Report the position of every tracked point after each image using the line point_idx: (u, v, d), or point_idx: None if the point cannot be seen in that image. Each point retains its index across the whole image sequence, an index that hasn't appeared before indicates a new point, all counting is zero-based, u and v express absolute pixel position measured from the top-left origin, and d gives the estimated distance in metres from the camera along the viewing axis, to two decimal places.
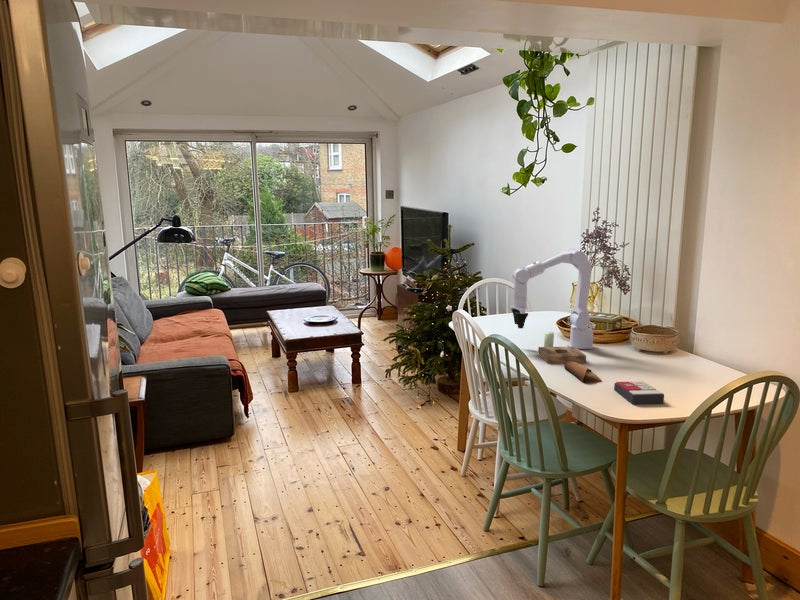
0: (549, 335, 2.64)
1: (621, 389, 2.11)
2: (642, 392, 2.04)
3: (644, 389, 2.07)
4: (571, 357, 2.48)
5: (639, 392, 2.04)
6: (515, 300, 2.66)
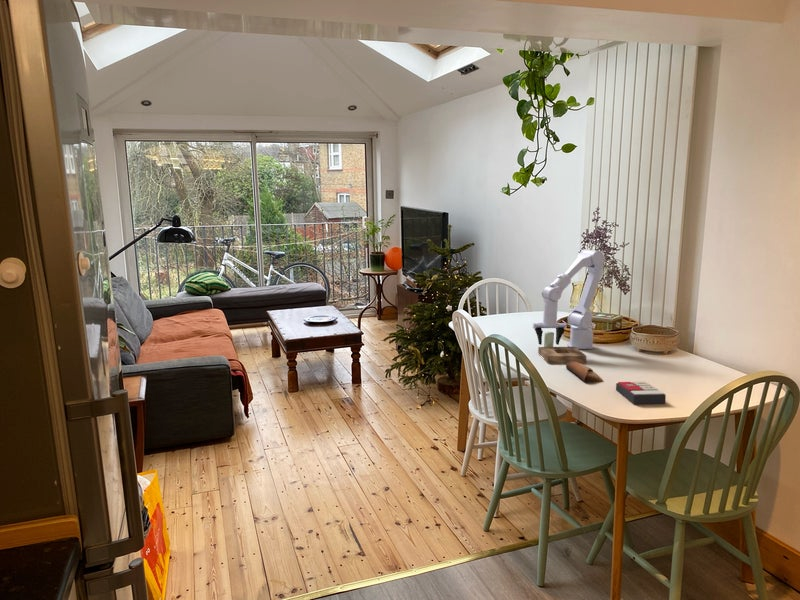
0: (549, 335, 2.64)
1: (623, 389, 2.11)
2: (643, 392, 2.04)
3: (646, 389, 2.07)
4: (571, 357, 2.48)
5: (640, 392, 2.04)
6: None
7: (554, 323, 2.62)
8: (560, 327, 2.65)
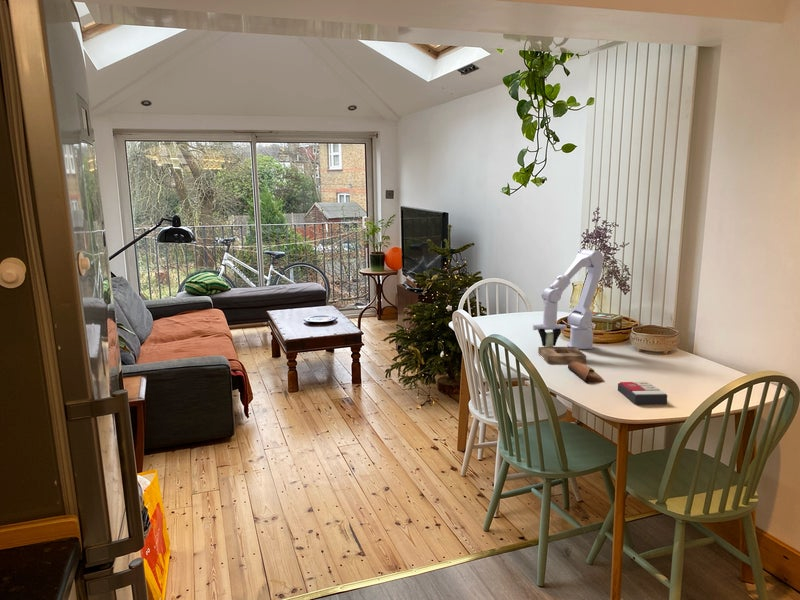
0: (549, 335, 2.64)
1: (624, 389, 2.10)
2: (645, 392, 2.03)
3: (647, 389, 2.07)
4: (571, 357, 2.48)
5: (642, 392, 2.03)
6: None
7: (554, 325, 2.63)
8: (560, 328, 2.65)
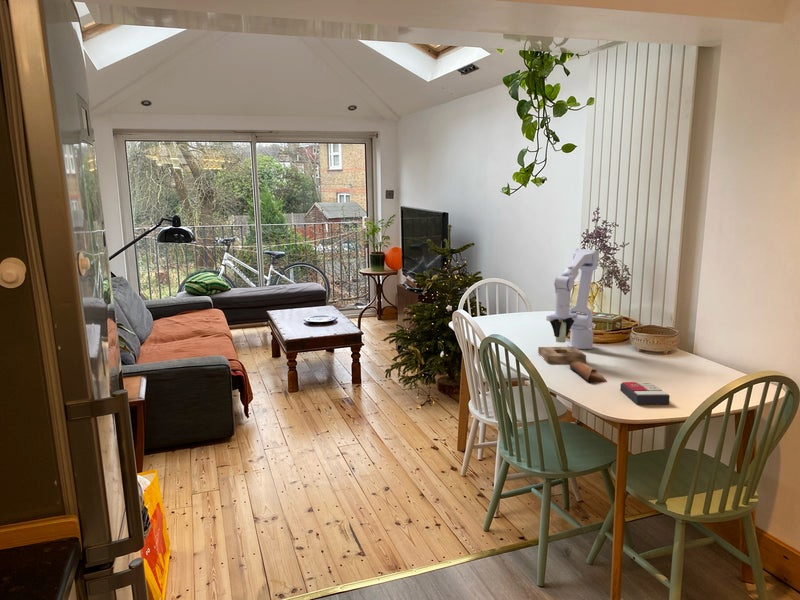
0: (563, 325, 2.52)
1: (627, 389, 2.10)
2: (647, 393, 2.03)
3: (650, 390, 2.06)
4: (571, 357, 2.48)
5: (644, 393, 2.03)
6: None
7: (568, 314, 2.51)
8: (572, 317, 2.55)
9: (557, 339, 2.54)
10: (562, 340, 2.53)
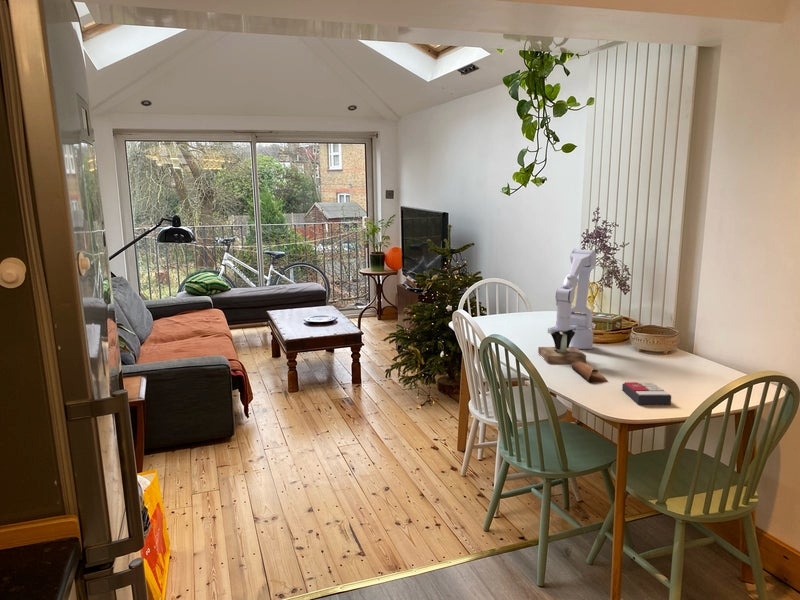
0: (564, 337, 2.52)
1: (628, 389, 2.10)
2: (649, 393, 2.03)
3: (651, 390, 2.06)
4: (571, 357, 2.48)
5: (646, 393, 2.03)
6: None
7: (569, 326, 2.51)
8: (572, 329, 2.55)
9: (558, 351, 2.54)
10: (563, 352, 2.53)
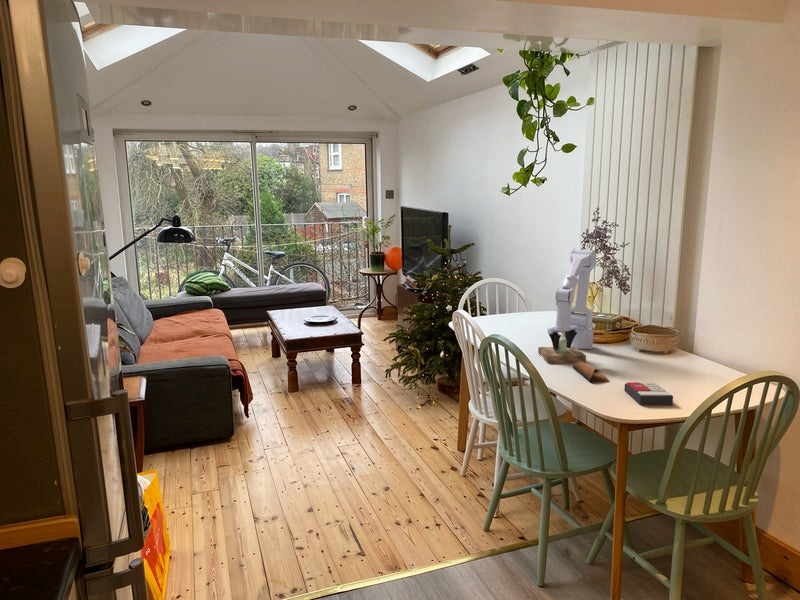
0: (563, 342, 2.53)
1: (630, 390, 2.10)
2: (650, 393, 2.03)
3: (653, 390, 2.06)
4: (571, 357, 2.48)
5: (647, 393, 2.03)
6: None
7: (569, 326, 2.51)
8: (572, 330, 2.55)
9: None
10: None
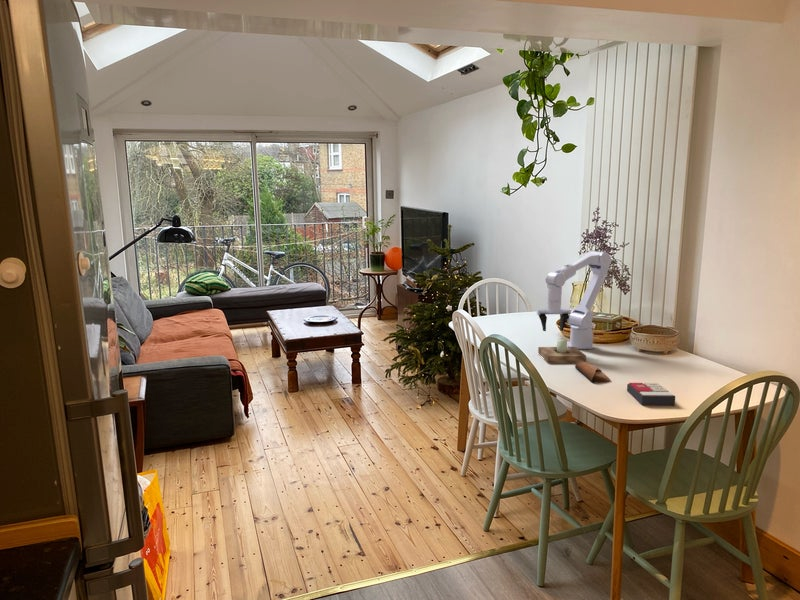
0: (564, 342, 2.52)
1: (633, 390, 2.10)
2: (652, 393, 2.03)
3: (655, 390, 2.05)
4: (571, 357, 2.48)
5: (649, 393, 2.03)
6: None
7: (558, 309, 2.60)
8: (564, 313, 2.62)
9: None
10: None
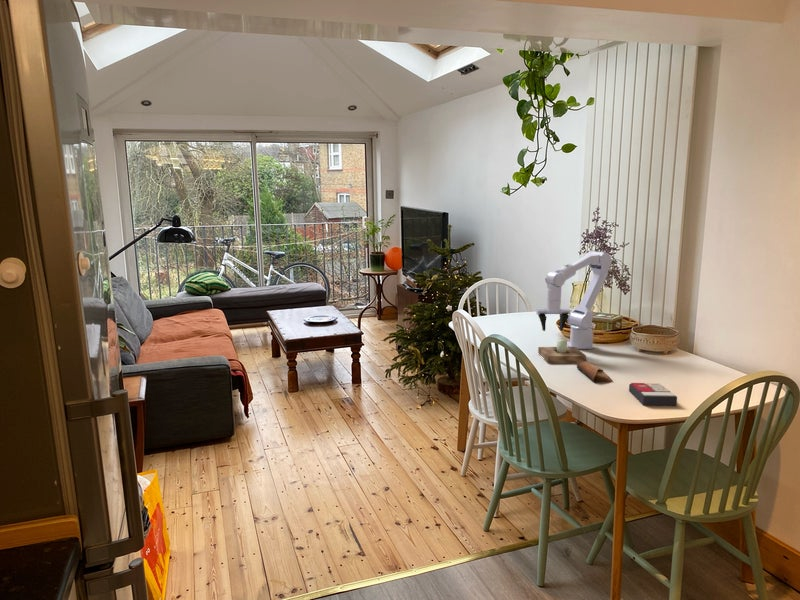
0: (564, 342, 2.52)
1: (634, 390, 2.10)
2: (654, 394, 2.02)
3: (657, 391, 2.05)
4: (571, 357, 2.48)
5: (651, 393, 2.02)
6: None
7: (558, 309, 2.60)
8: (564, 313, 2.63)
9: None
10: None
